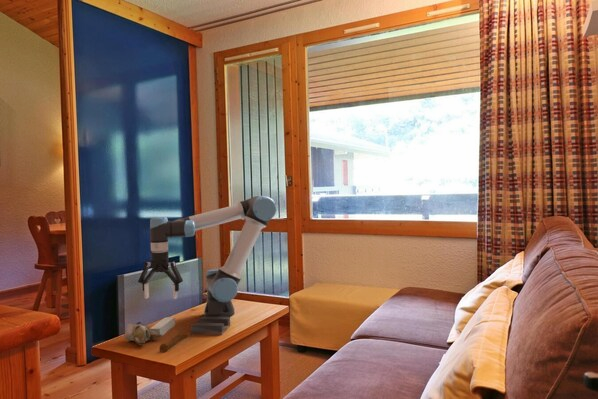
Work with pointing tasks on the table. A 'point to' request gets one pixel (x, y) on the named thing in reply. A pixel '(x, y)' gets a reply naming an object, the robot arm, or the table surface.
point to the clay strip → (163, 325)
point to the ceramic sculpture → (139, 333)
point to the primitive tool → (172, 342)
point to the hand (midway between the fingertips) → (160, 298)
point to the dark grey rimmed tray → (211, 325)
